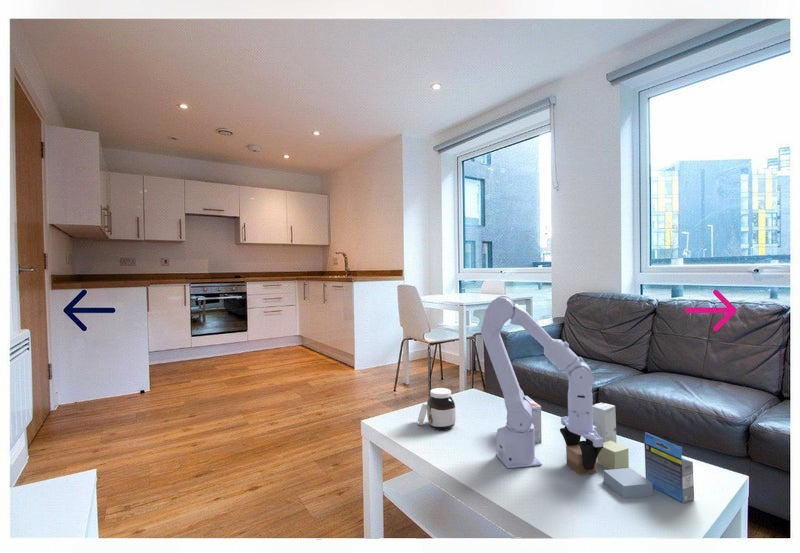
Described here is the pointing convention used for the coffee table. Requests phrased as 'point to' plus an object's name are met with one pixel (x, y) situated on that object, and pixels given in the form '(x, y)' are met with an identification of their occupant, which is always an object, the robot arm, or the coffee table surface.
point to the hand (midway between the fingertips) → (581, 462)
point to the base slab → (628, 482)
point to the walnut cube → (576, 460)
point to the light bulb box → (536, 420)
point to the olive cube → (613, 456)
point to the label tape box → (668, 469)
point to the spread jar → (439, 409)
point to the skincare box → (605, 421)
